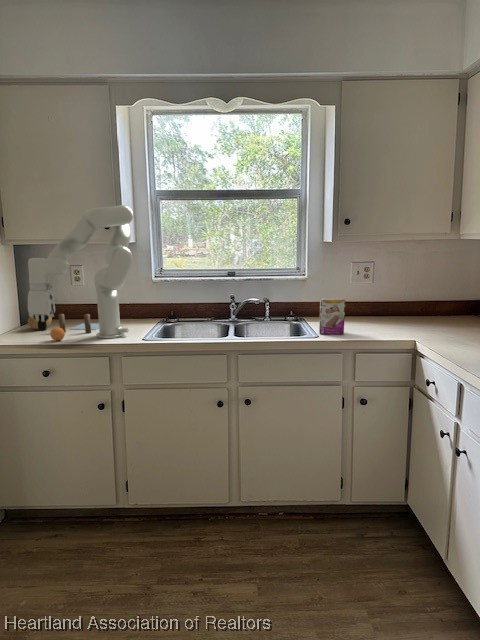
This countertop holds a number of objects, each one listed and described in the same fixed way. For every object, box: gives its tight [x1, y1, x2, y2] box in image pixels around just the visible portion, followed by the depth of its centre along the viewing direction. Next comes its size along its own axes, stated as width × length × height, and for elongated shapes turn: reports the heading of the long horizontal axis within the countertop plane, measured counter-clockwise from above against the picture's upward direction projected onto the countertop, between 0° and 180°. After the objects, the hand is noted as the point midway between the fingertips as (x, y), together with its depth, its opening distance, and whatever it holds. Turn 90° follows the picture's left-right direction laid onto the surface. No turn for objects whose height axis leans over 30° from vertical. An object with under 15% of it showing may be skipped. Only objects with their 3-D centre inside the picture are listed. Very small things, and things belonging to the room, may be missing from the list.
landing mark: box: [69, 322, 99, 331], centre depth 226 cm, size 14×14×1 cm
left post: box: [58, 313, 67, 333], centre depth 212 cm, size 3×3×9 cm
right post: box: [83, 313, 92, 334], centre depth 210 cm, size 3×3×9 cm
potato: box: [27, 316, 53, 330], centre depth 221 cm, size 10×14×8 cm
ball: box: [49, 326, 66, 341], centre depth 196 cm, size 6×6×6 cm
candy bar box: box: [318, 297, 346, 336], centre depth 202 cm, size 11×5×16 cm, turn 85°
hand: (42, 330), depth 185 cm, fingers closed
